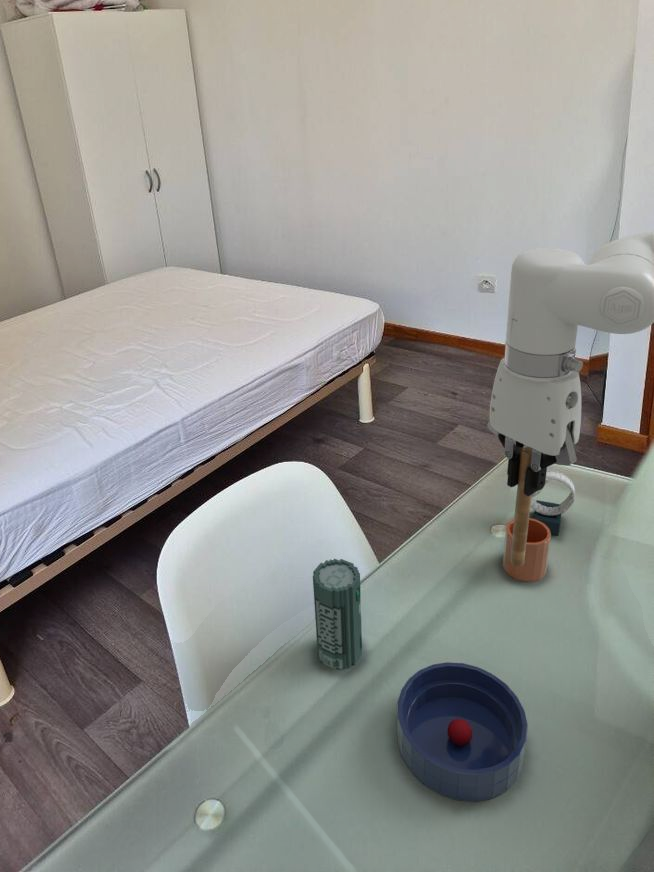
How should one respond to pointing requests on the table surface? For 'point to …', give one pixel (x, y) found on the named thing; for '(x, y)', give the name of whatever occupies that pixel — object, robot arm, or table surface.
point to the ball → (459, 732)
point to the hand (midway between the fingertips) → (525, 485)
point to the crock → (529, 552)
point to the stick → (521, 511)
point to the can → (338, 613)
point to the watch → (553, 504)
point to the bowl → (488, 718)
